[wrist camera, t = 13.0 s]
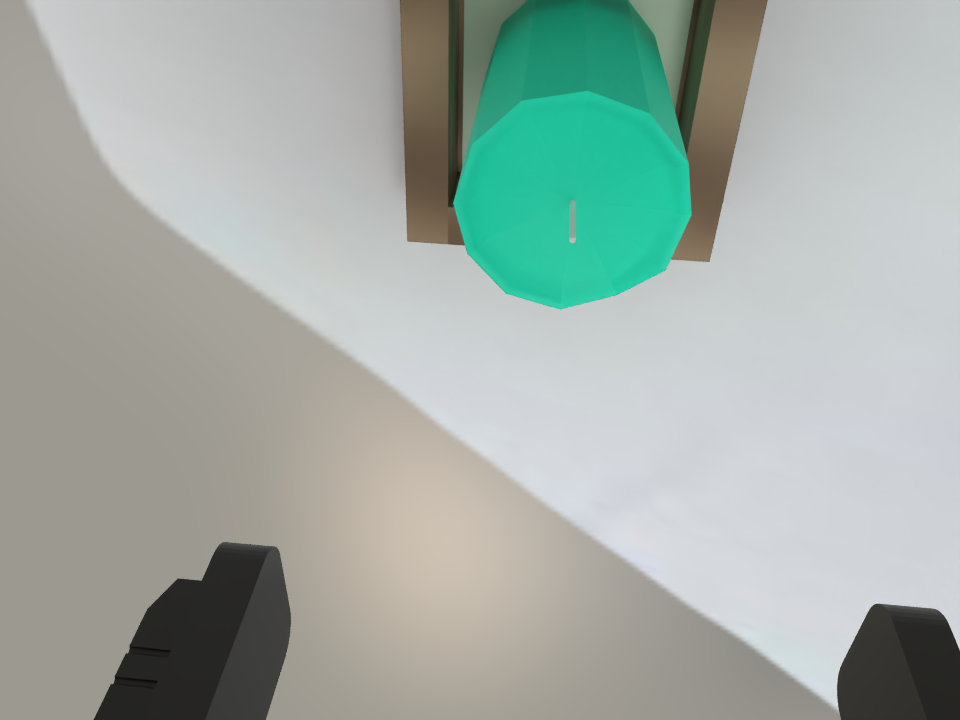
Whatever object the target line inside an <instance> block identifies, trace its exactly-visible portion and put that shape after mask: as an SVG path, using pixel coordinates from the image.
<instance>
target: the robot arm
mask: <svg viewBox="0 0 960 720" xmlns="http://www.w3.org/2000/svg"><path fill="white" fill-rule="evenodd" d="M290 627H291V613H290V607H289V601H288V595H287V590H286V585H285V579H284V574H283V568H282V563H281V558H280V553H279V550H278V549H277V547H273V546H262V545H251V544H239V543H229V542H223V543H221V544H220V545H219V546H218V547H217V549H216V551H215V552H214V554H213V556H212V559H211V561H210V563H209V566H208V568H207V570H206V572H205V575H204V577H203V579H202V581H198V580H188V579H177V580H176V581H175V582H174V583H173V584H172V585H171V586H170V587H169V588H168V589H167V590H166V591H165V592H164V593H163V594H162V595H161V596H160V597H159V598H158V599H157V600H156V601H155V602H154V603H153V604H152V605H151V606H150V607H149V608H148V609H147V611H146V613H145V615H144V617H143V619H142V621H141V623H140V625H139V627H138V630H137V632H136V634H135V636H134V638H133V640H132V642H131V644H130V650H129V653H128V654H126V655H125V657H124V658H123V660H122V662H121V665H120V667H119V669H118V671H117V673H116V675H115V681H114V684H111V685H110V687H109V689H108V691H107V693H106V695H105V698H104V700H103V702H102V704H101V706H100V708H99V710H98V712H97V714H96V716H95V718H94V720H266V717H267V714H268V711H269V708H270V704H271V701H272V698H273V695H274V691H275V688H276V685H277V682H278V679H279V676H280V672H281V669H282V666H283V663H284V660H285V656H286V652H287V648H288V643H289V637H290ZM837 698H838V707H839V712H840V717H841V720H960V650H959V648H958V645H957V643H956V640H955V638H954V636H953V633H952V631H951V628H950V626H949V624H948V622H947V620H946V618H945V617H944V615H943V614H942V613H941V612H939V611H938V610H936V609H931V608H920V607H909V606H898V605H887V604H875V605H873V606H872V607H871V608H870V610H869V612H868V614H867V615H866V617H865V619H864V621H863V623H862V625H861V627H860V629H859V631H858V633H857V635H856V637H855V639H854V641H853V643H852V645H851V647H850V649H849V651H848V653H847V655H846V657H845V659H844V661H843V663H842V665H841V667H840V671H839V675H838V683H837Z"/></svg>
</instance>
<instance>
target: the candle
mask: <svg viewBox="0 0 960 720" xmlns="http://www.w3.org/2000/svg"><path fill="white" fill-rule="evenodd" d="M453 204H454V208H455V211H456V215H457V218H458V222H459V226H460V229H461V233H462V236H463V240H464V243H465V247H466V250H467V254H468V255H469V256H470V257H471V258H472V259H473V260H474V261H475V262H476V263H477V264H478V265H479V266H480V267H481V268H482V269H483V270H484V271H485V272H486V273H487V274H488V275H489V276H490V277H491V279H492V280H493V281H494V282H495V283H496V284H497V285H498V286H499V287H500V288H501V289H502V290H503V291H504V292H505V293H506V294H509V295H513V296H516V297H519V298H523V299H526V300H530V301H533V302H537V303H540V304H543V305H547V306H550V307H554V308H557V309H563V308H567V307H571V306H575V305H579V304H583V303H587V302H591V301H595V300H599V299H603V298H607V297H611V296H615V295H618V294H620V293H622V292H624V291H626V290H628V289H630V288H632V287H634V286H635V285H637V284H639V283H641V282H643V281H645V280H647V279H649V278H651V277H653V276H655V275H657V274H659V273H661V272H663V271H665V270H666V268H667V266H668V264H669V262H670V260H671V258H672V255H673V253H674V251H675V249H676V247H677V245H678V243H679V241H680V239H681V236H682V234H683V232H684V230H685V228H686V226H687V224H688V222H689V220H690V217H691V197H690V178H689V163H688V159H687V155H686V151H685V148H684V144H683V140H682V136H681V132H680V129H679V125H678V121H677V117H676V113H675V110H674V106H673V102H672V98H671V95H670V91H669V87H668V83H667V79H666V76H665V72H664V68H663V64H662V60H661V57H660V53H659V49H658V45H657V41H656V38H655V35H654V33H653V32H652V31H651V29H650V28H649V27H648V25H647V24H646V23H645V21H644V20H643V19H642V17H641V16H640V15H639V13H638V12H637V11H636V9H635V8H634V7H633V5H632V4H631V3H630V1H629V0H527V1H526V2H525V3H524V4H523V5H522V6H521V7H520V8H519V9H517V10H516V11H515V12H514V13H513V14H512V15H511V16H510V17H509V18H508V19H506V20H505V21H504V22H503V23H502V25H501V28H500V31H499V34H498V37H497V40H496V43H495V47H494V50H493V53H492V56H491V59H490V62H489V65H488V68H487V72H486V76H485V80H484V84H483V88H482V92H481V96H480V100H479V104H478V108H477V112H476V116H475V120H474V124H473V127H472V131H471V135H470V139H469V143H468V147H467V151H466V155H465V159H464V163H463V167H462V171H461V175H460V179H459V183H458V187H457V191H456V195H455V198H454V202H453Z"/></svg>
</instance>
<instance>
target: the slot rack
mask: <svg viewBox="0 0 960 720" xmlns="http://www.w3.org/2000/svg"><path fill="white" fill-rule="evenodd" d="M526 1H527V0H400V13H401V46H402V79H403V112H404V145H405V178H406V211H407V241H409V242H424V243H438V244H453V245H465V243H464V240H463V236H462V233H461V229H460V226H459V222H458V218H457V215H456V211H455V208H454V204H453V202H454V198H455V195H456V191H457V187H458V183H459V179H460V175H461V171H462V167H463V163H464V159H465V155H466V151H467V147H468V143H469V139H470V135H471V131H472V127H473V124H474V120H475V116H476V112H477V108H478V104H479V100H480V96H481V92H482V88H483V84H484V80H485V76H486V72H487V68H488V65H489V62H490V59H491V56H492V53H493V50H494V47H495V43H496V40H497V37H498V34H499V31H500V28H501V25H502V23H503V22H504V21H505V20H506V19H508V18H509V17H510V16H511V15H512V14H513V13H514V12H515V11H516V10H517V9H519V8H520V7H521V6H522V5H523V4H524V3H525V2H526ZM629 1H630V3H631V4H632V5H633V7H634V8H635V9H636V11H637V12H638V13H639V15H640V16H641V17H642V19H643V20H644V21H645V23H646V24H647V25H648V27H649V28H650V29H651V31H652V32H653V33H654V35H655V38H656V41H657V45H658V49H659V53H660V57H661V60H662V64H663V68H664V72H665V76H666V79H667V83H668V87H669V91H670V95H671V98H672V102H673V106H674V110H675V113H676V117H677V121H678V125H679V129H680V132H681V136H682V140H683V144H684V148H685V151H686V155H687V159H688V163H689V178H690V197H691V217H690V220H689V222H688V224H687V226H686V228H685V230H684V232H683V234H682V236H681V239H680V241H679V243H678V245H677V247H676V249H675V251H674V253H673V255H672V258H671V259H673V260H688V261H703V262H710V257H711V253H712V248H713V243H714V239H715V234H716V230H717V225H718V221H719V216H720V212H721V207H722V203H723V198H724V194H725V189H726V185H727V180H728V176H729V171H730V167H731V162H732V158H733V153H734V149H735V144H736V140H737V135H738V131H739V126H740V122H741V117H742V113H743V108H744V104H745V99H746V95H747V90H748V86H749V81H750V77H751V72H752V68H753V63H754V59H755V54H756V50H757V45H758V41H759V36H760V32H761V27H762V23H763V18H764V14H765V9H766V5H767V0H629Z"/></svg>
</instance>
